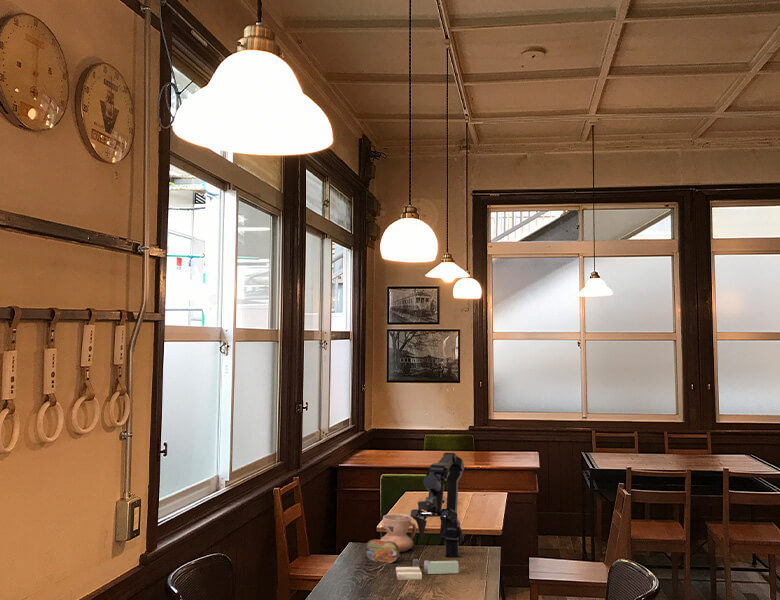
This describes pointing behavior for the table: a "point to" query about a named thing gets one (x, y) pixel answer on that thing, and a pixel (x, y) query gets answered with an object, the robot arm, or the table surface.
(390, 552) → the tin
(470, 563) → the table surface
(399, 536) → the ceramic jug
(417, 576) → the stool seat
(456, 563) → the stool leg
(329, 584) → the table surface
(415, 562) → the leg stop
